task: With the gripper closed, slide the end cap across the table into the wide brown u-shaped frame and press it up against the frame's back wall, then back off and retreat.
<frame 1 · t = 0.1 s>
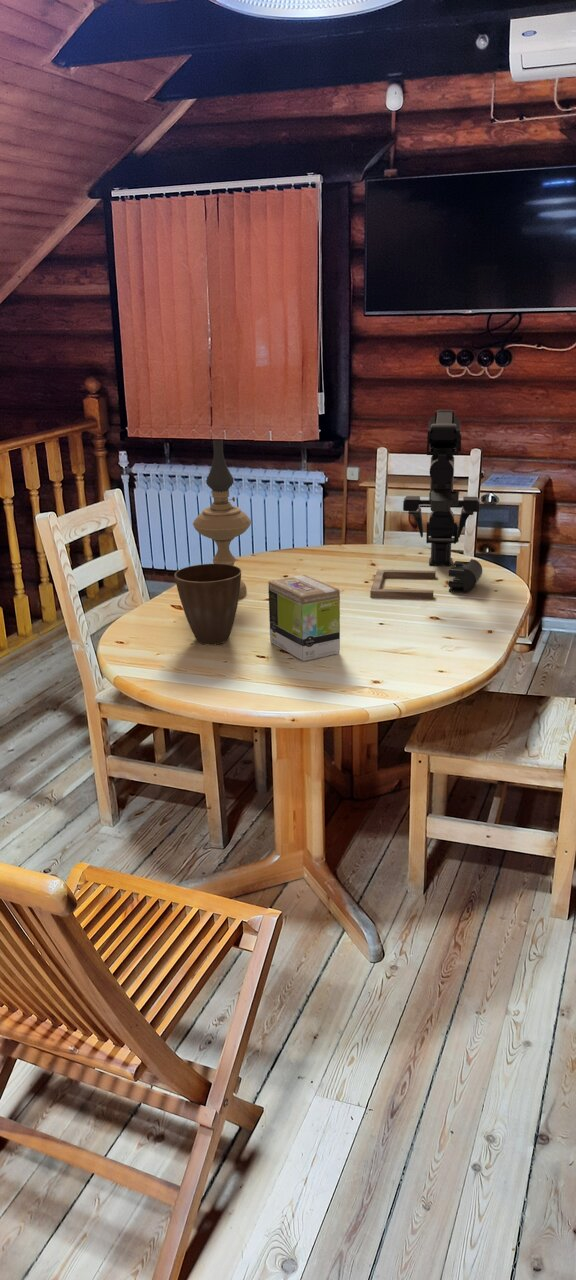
hand: (440, 537, 239), 15 cm above the table, fingers open, 9 cm apart
brown u-shaped frame: (407, 586, 250), on the table
tea box: (304, 648, 209), on the table
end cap: (465, 589, 247), on the table
plant pot: (212, 640, 216), on the table
oil lamp: (225, 594, 248), on the table
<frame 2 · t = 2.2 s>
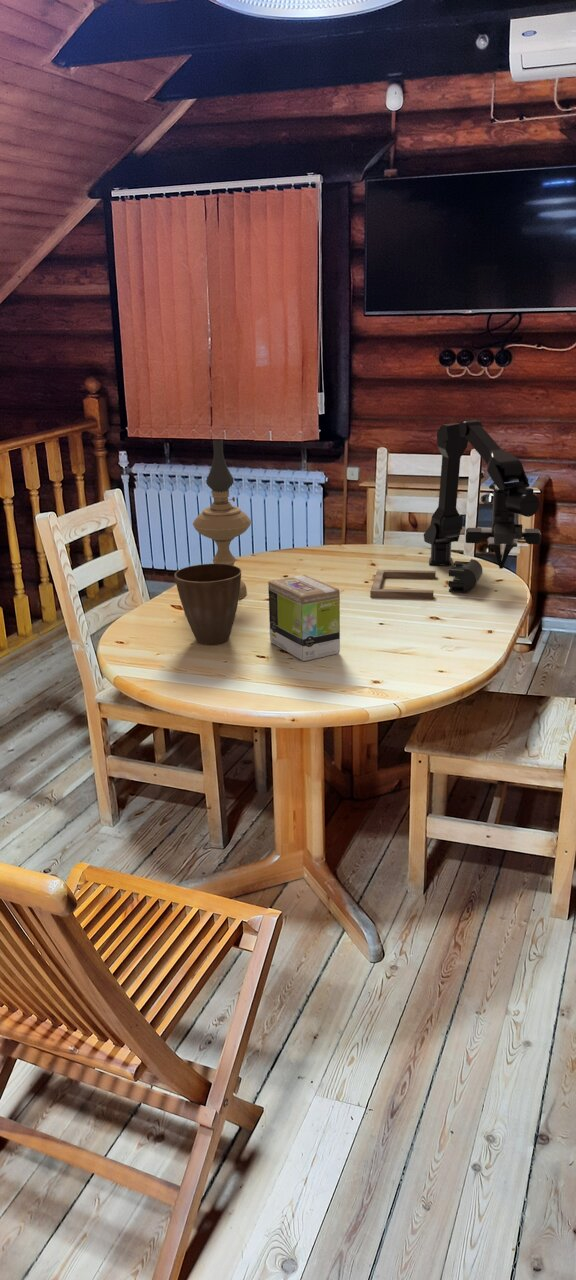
hand: (501, 568, 244), 6 cm above the table, fingers closed
nothing on the table moved.
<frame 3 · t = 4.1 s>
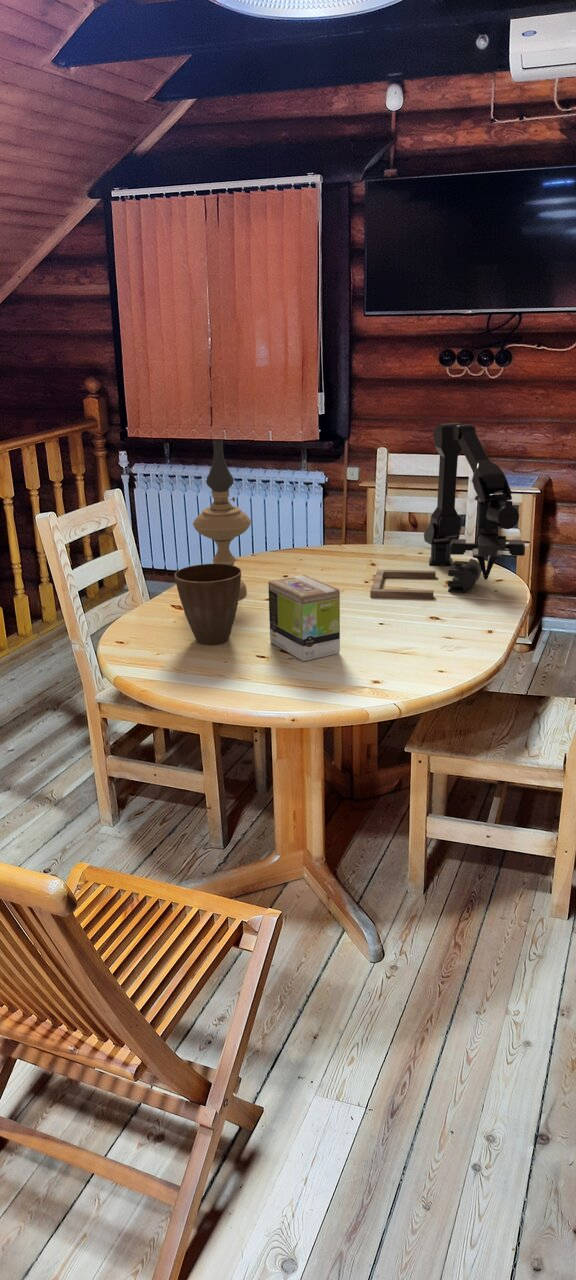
hand: (485, 579, 245), 3 cm above the table, fingers closed
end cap: (464, 588, 247), on the table, touching gripper
everything else where it was.
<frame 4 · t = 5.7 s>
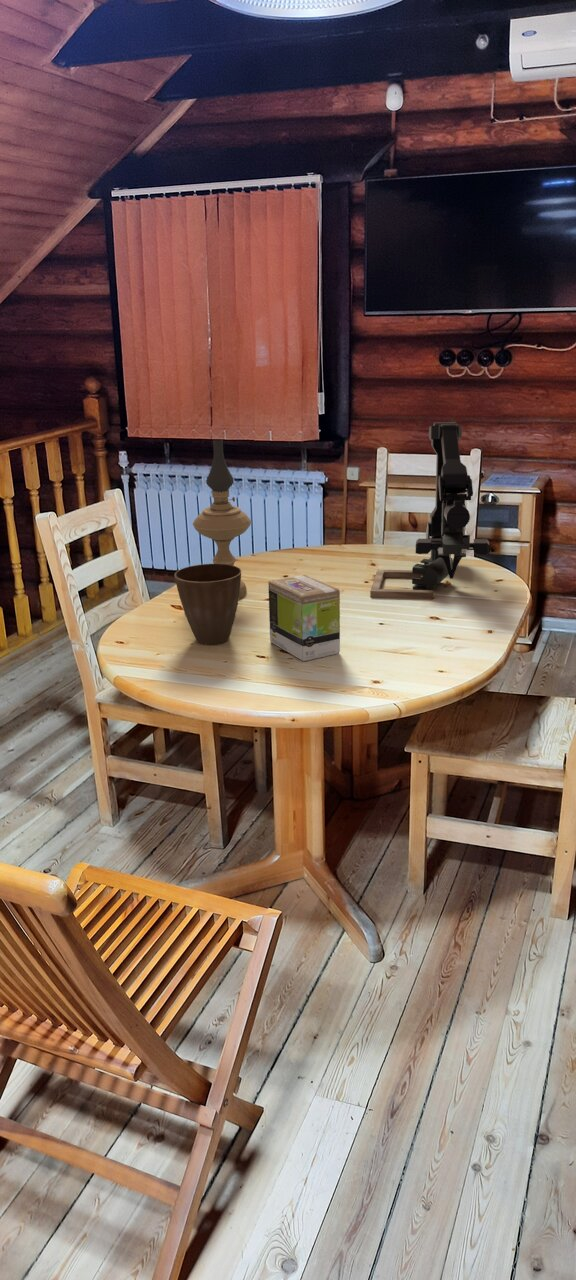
hand: (451, 578, 247), 3 cm above the table, fingers closed
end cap: (430, 586, 249), on the table, touching gripper
everything else where it was.
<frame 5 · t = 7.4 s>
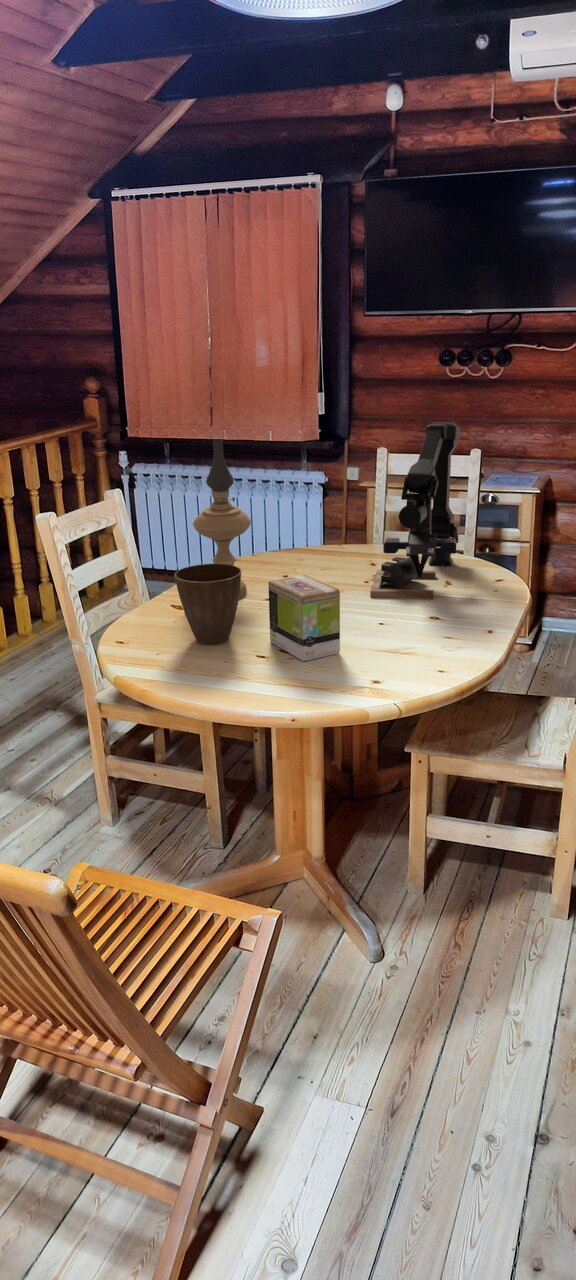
hand: (419, 577, 248), 3 cm above the table, fingers closed
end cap: (400, 584, 252), on the table, touching gripper, brown u-shaped frame
everything else where it was.
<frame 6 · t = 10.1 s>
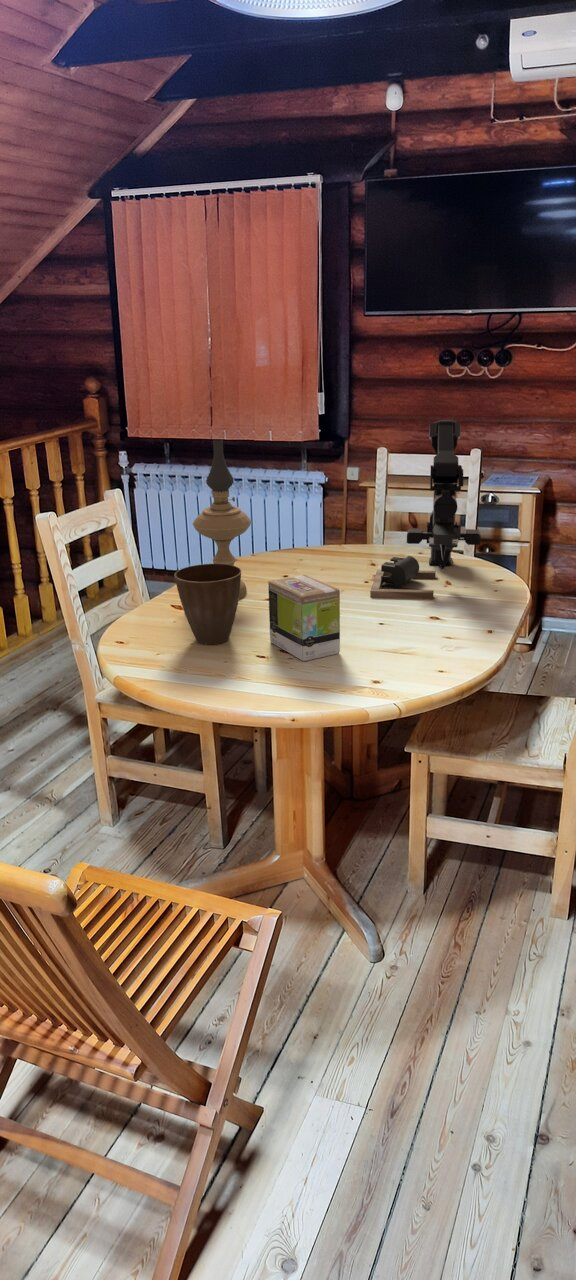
hand: (442, 568, 246), 5 cm above the table, fingers closed
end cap: (400, 584, 252), on the table
everything else where it was.
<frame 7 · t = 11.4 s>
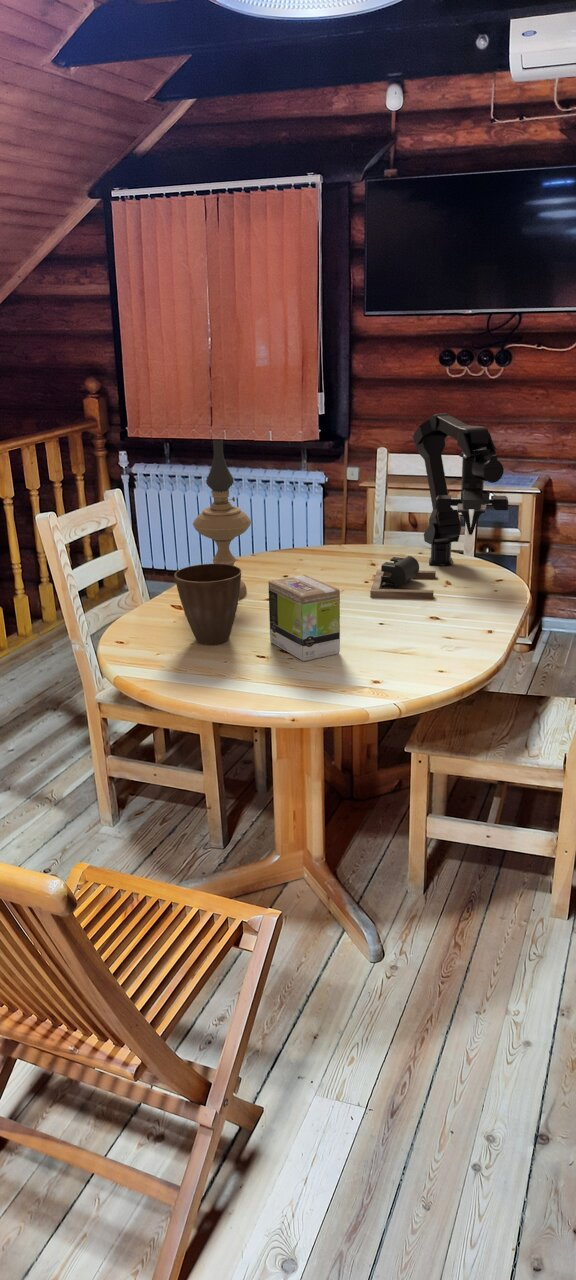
hand: (470, 534, 252), 12 cm above the table, fingers closed
nothing on the table moved.
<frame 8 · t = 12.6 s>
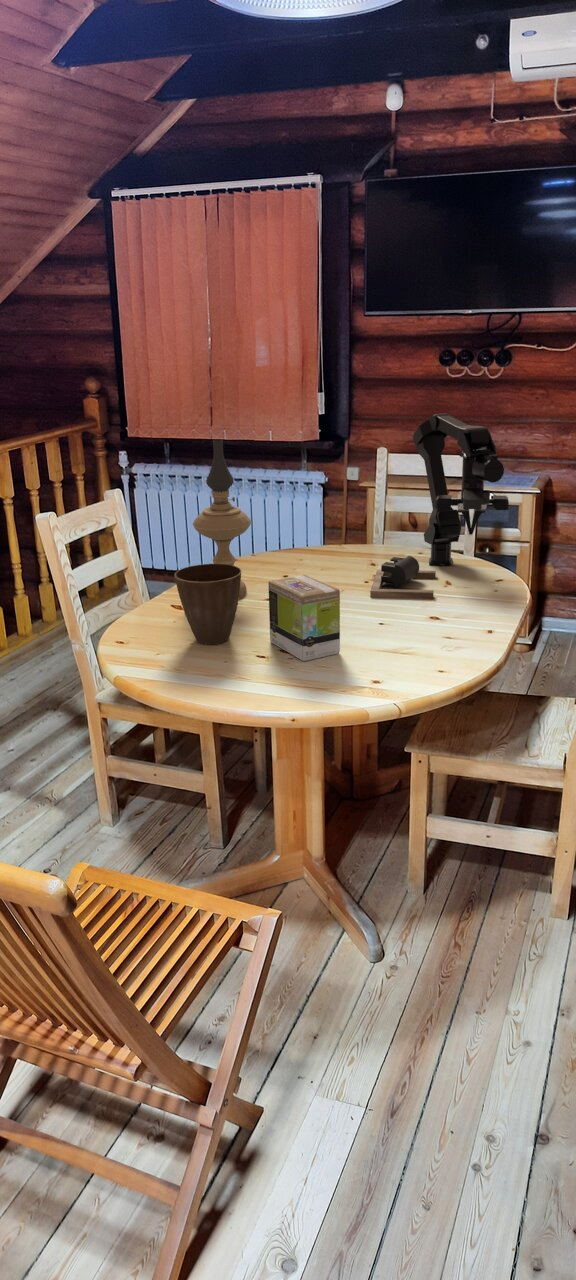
hand: (470, 534, 252), 12 cm above the table, fingers closed
nothing on the table moved.
at the end: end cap 2.5 cm from the target spot on the brown u-shaped frame, point 0.0 cm above the brown u-shaped frame's base; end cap tilted 0°; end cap moved 17.3 cm from its start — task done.
